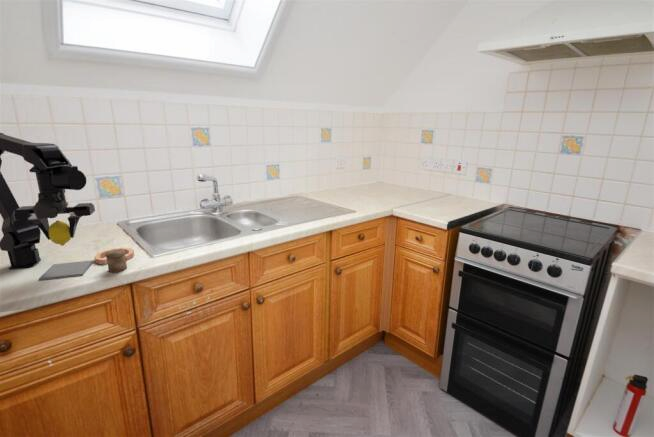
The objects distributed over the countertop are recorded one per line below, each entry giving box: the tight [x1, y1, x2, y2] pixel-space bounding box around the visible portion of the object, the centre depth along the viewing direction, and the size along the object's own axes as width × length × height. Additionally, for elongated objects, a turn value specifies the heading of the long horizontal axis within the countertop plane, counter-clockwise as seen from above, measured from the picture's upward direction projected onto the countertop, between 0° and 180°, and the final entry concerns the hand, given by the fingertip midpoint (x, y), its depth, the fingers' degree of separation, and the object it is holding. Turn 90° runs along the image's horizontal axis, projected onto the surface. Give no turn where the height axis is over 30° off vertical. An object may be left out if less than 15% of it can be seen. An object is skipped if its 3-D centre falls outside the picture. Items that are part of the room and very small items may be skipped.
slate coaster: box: [38, 259, 94, 281], centre depth 110 cm, size 11×11×1 cm
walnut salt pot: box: [105, 249, 128, 273], centre depth 110 cm, size 5×5×6 cm
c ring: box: [93, 247, 135, 265], centre depth 120 cm, size 11×11×2 cm
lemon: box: [49, 220, 72, 247], centre depth 107 cm, size 6×6×8 cm
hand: (61, 238), depth 107 cm, fingers closed on lemon, 5 cm apart
